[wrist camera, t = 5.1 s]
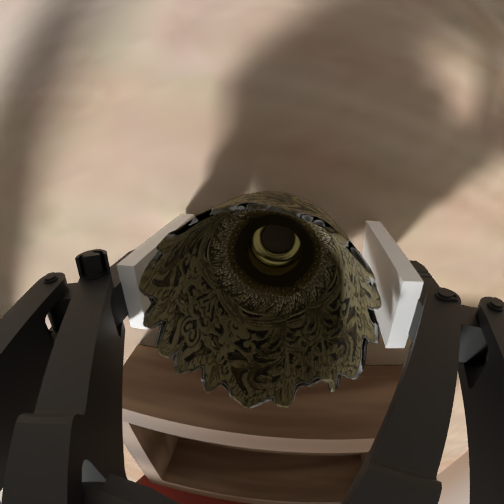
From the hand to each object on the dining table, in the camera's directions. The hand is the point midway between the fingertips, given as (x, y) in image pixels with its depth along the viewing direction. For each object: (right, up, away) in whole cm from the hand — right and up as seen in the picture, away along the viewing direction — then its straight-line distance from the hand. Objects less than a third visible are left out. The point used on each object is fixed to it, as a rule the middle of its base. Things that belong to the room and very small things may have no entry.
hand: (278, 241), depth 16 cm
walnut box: (0, -14, +6) cm, 15 cm away
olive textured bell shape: (0, 0, 0) cm, 0 cm away
